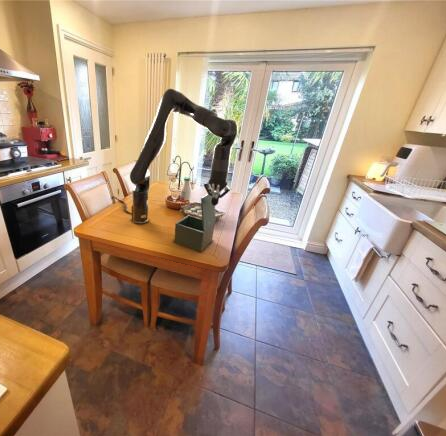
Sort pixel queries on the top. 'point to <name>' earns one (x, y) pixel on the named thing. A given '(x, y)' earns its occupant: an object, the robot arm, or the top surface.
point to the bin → (193, 233)
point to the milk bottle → (186, 190)
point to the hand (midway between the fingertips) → (214, 204)
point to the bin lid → (207, 212)
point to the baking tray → (198, 210)
